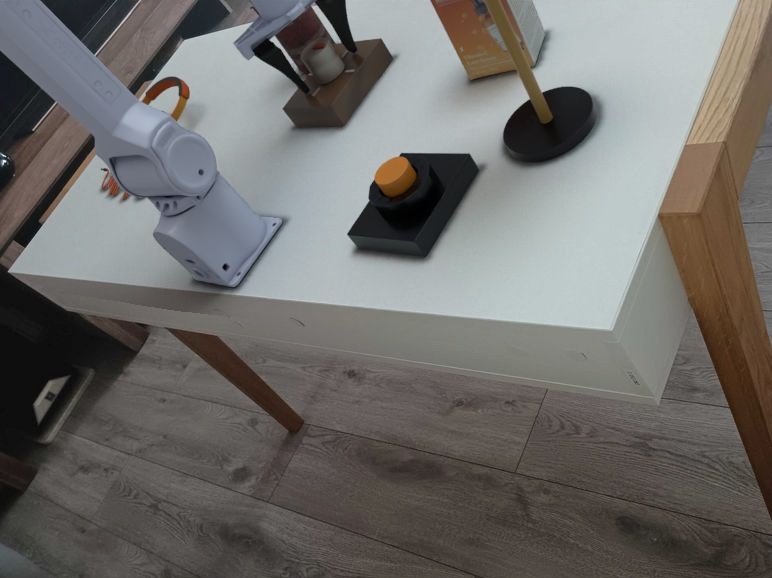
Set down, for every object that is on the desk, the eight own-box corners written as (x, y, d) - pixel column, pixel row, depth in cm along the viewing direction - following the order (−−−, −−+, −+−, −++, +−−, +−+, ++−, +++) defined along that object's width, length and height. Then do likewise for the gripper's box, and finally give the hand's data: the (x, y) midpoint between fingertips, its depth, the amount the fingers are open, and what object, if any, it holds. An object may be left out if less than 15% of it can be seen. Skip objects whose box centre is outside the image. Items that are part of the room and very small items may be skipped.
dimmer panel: (344, 126, 90) (329, 105, 87) (296, 127, 95) (281, 107, 93) (393, 58, 94) (380, 36, 92) (344, 63, 99) (331, 42, 97)
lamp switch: (405, 198, 69) (395, 185, 68) (377, 197, 71) (367, 183, 70) (423, 170, 71) (414, 156, 69) (395, 169, 73) (386, 156, 71)
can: (343, 39, 104) (281, -56, 94) (334, 66, 100) (269, -30, 90) (307, 54, 106) (244, -37, 96) (297, 81, 102) (230, -11, 93)
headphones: (158, 212, 104) (221, 89, 107) (124, 193, 100) (190, 65, 103) (104, 201, 115) (163, 89, 118) (72, 183, 111) (133, 68, 114)
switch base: (426, 257, 69) (405, 228, 66) (358, 249, 74) (335, 221, 71) (479, 169, 73) (461, 138, 70) (411, 168, 78) (392, 139, 75)
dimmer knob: (312, 85, 93) (293, 59, 90) (327, 64, 94) (309, 37, 92) (335, 82, 90) (316, 55, 88) (350, 60, 92) (332, 33, 89)
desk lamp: (575, 168, 67) (456, -96, 50) (486, 166, 73) (352, -70, 56) (618, 90, 70) (520, -181, 53) (529, 94, 76) (416, -148, 59)
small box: (470, 82, 83) (425, -3, 75) (483, 49, 85) (441, -36, 78) (536, 66, 79) (495, -25, 71) (547, 33, 81) (509, -59, 74)
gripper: (219, 17, 79) (295, 117, 89) (323, -69, 80) (387, 39, 90) (201, 5, 84) (275, 101, 94) (299, -76, 85) (363, 27, 95)
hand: (329, 70), depth 92 cm, fingers open, 7 cm apart
